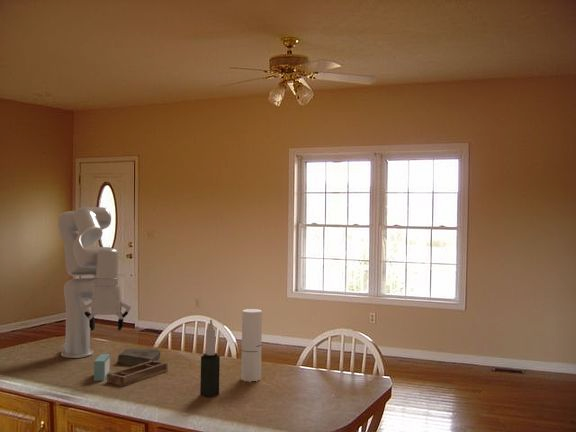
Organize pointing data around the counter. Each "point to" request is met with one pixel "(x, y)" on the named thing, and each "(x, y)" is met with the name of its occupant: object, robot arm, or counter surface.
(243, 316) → the cylindrical container
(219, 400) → the counter surface
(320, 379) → the counter surface
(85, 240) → the robot arm
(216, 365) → the marker pen
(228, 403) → the counter surface
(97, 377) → the teal block
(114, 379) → the wooden compartment tray
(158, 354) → the marble piece
